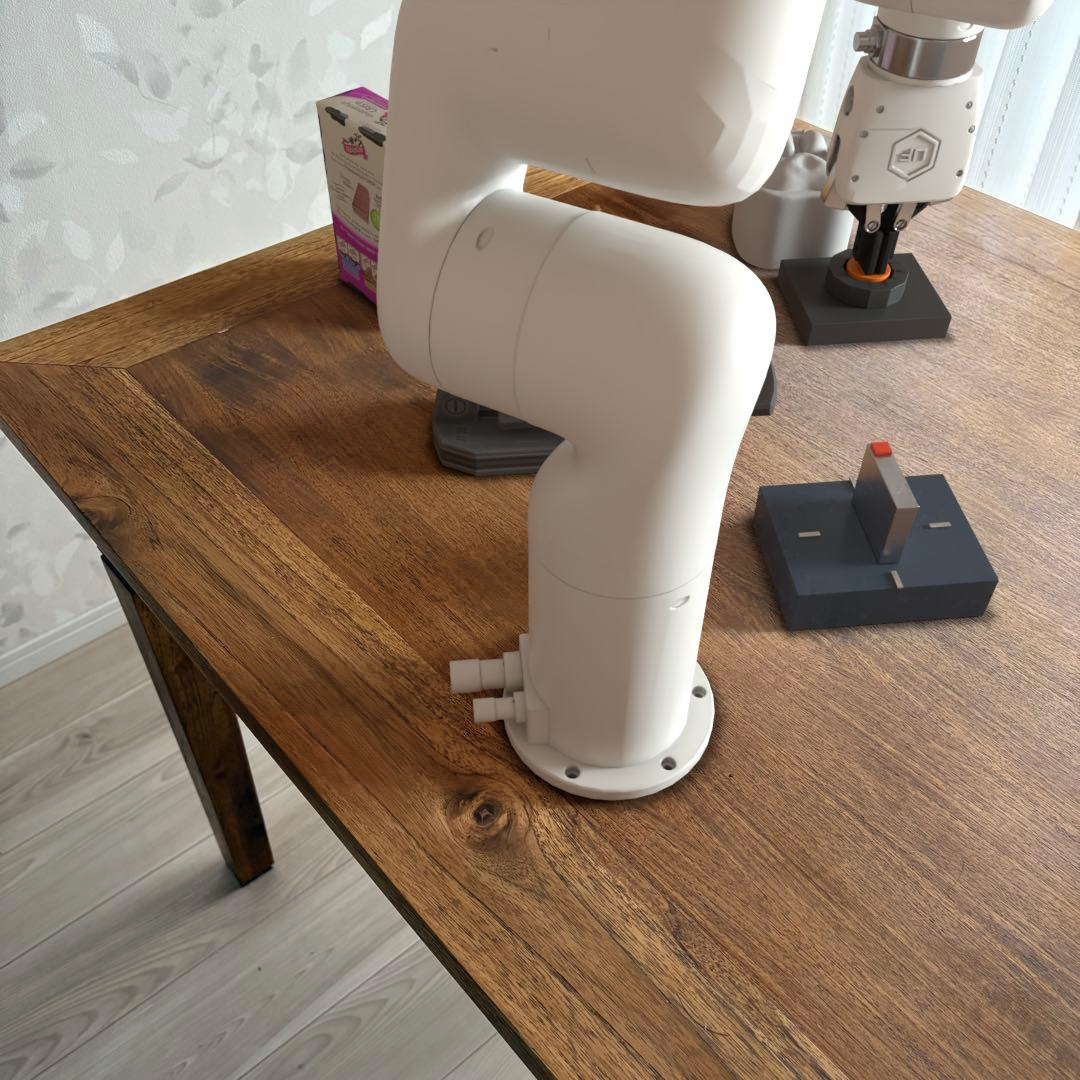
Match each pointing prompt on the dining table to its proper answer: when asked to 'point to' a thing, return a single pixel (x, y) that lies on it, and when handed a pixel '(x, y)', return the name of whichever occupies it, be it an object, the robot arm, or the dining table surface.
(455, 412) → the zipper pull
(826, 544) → the lever switch base
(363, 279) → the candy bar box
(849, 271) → the button
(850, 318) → the box
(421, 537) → the dining table surface
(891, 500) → the gray slab
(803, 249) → the lumpy-topped squat cylinder
